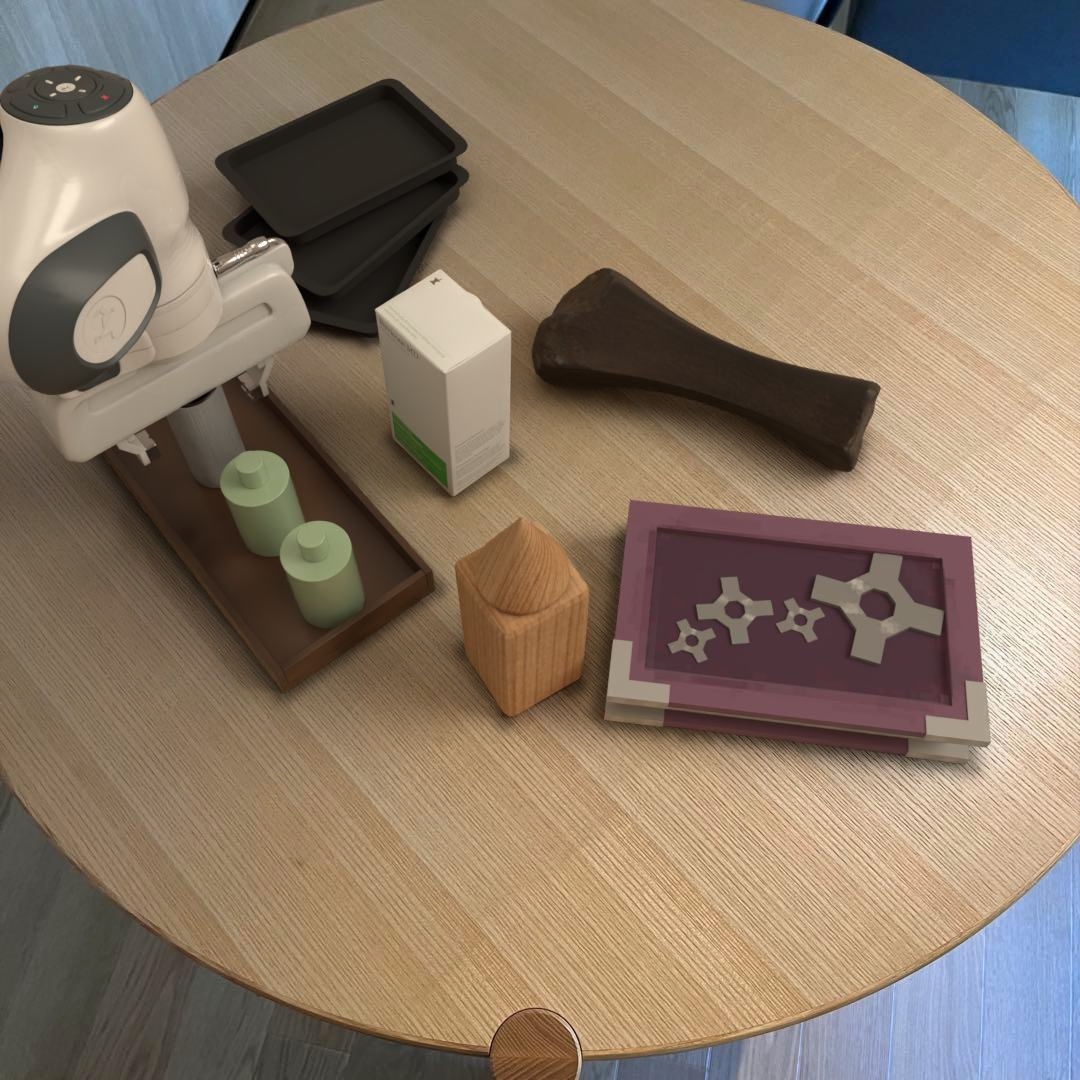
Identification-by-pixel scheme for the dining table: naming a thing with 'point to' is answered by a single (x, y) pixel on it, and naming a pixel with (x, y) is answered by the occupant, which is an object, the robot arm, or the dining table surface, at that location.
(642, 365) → the dark brown bone
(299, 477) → the walnut tray
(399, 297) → the cosmetic box
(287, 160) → the tray
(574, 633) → the decorative item
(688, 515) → the book
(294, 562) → the bottles
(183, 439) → the planter
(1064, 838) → the dining table surface
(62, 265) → the robot arm
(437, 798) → the dining table surface
